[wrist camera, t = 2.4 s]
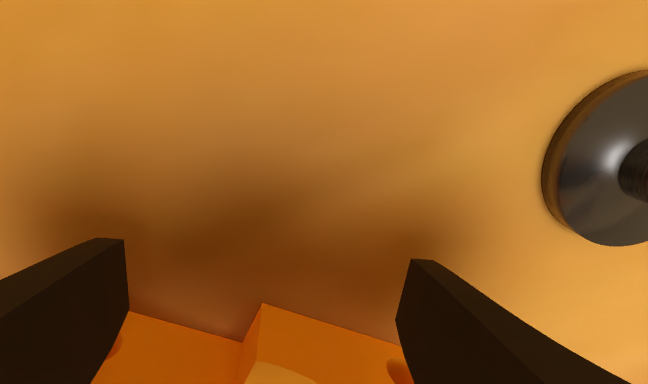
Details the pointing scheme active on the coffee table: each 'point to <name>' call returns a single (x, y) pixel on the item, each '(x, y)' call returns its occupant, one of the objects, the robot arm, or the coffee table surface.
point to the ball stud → (603, 165)
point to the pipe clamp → (251, 354)
